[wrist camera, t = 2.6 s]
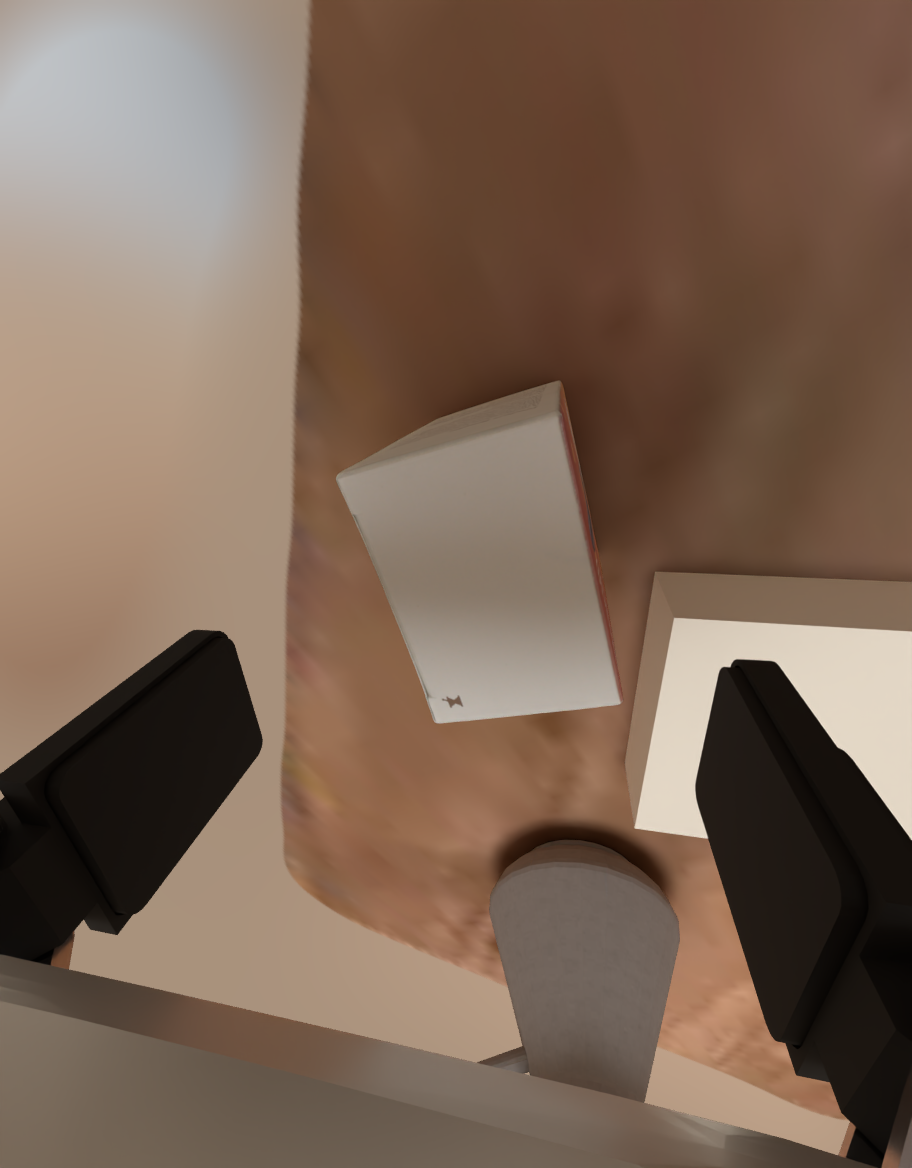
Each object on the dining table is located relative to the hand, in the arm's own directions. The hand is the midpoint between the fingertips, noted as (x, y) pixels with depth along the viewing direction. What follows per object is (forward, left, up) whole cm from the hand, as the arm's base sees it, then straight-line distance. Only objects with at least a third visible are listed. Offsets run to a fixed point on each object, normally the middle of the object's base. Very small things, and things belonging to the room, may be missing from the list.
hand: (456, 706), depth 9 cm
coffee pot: (+26, -1, -14) cm, 30 cm away
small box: (-1, 0, -14) cm, 14 cm away
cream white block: (+9, +12, -14) cm, 21 cm away
